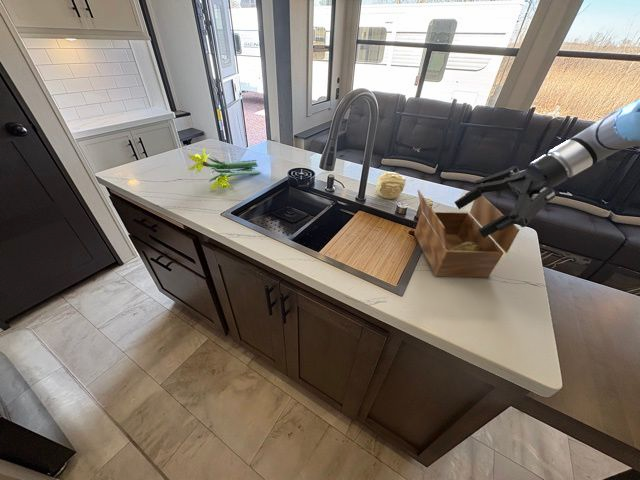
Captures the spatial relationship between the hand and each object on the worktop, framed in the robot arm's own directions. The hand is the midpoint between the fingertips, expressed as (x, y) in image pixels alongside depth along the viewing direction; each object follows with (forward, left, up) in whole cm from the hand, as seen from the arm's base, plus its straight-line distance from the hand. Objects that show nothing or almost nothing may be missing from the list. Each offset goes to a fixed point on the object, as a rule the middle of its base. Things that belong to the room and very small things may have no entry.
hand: (467, 218), depth 68 cm
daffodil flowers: (+54, +80, -18) cm, 98 cm away
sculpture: (+46, +8, -18) cm, 50 cm away
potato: (0, -3, -17) cm, 17 cm away
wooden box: (+6, -3, -17) cm, 19 cm away
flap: (+6, +6, -4) cm, 9 cm away
